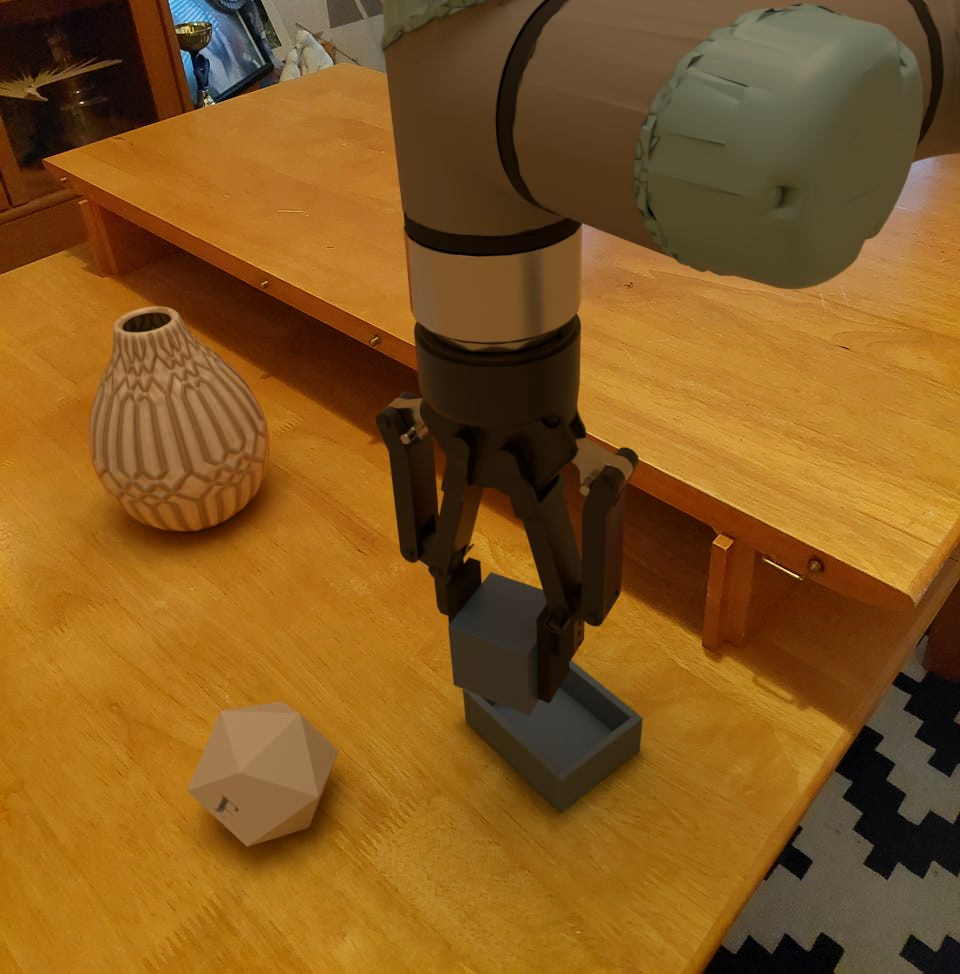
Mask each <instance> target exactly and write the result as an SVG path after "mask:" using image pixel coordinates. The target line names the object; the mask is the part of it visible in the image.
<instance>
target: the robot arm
mask: <svg viewBox="0 0 960 974" xmlns="http://www.w3.org/2000/svg"><path fill="white" fill-rule="evenodd" d="M382 12H383V13H382V14H383V15H382V17H383V33H382V35H381V40H380V41H379V42H380V48H381V52H382V53H383V54H384V61H385V71H386V78H387V87H388V99H389V105H390V115H391V123H392V131H393V141H394V142H393V143H394V148H395V157H396V166H397V167H396V168H397V175H398V185H399V193H400V203H401V210H402V211H403V224H404V225H403V236H404V238H403V239H404V250H405V261H406V270H407V281H408V282H407V283H408V294H409V304H410V312H411V313H412V316H413V319H414V320H415V324H414V327H413V336H414V346H415V357H416V367H417V378H418V386H419V391H420V394H421V398H419V396H418V395H417V394H415V393H414V392H413V391H411V390H405V391H403V392H402V393H401V394H399V396H397V397H396V398H395V399H394V400H393V401H391V403H389V404H388V405H387V406H386V407H384V408H383V409H382V410H381V411H379V413H378V414H376V416H375V424H376V426H377V429H378V431H379V433H380V436H381V438H382V440H383V442H384V445H385V448H386V450H387V452H388V458H389V466H390V476H391V483H392V493H393V501H394V509H395V518H396V525H397V526H396V527H397V536H398V543H399V553H400V555H401V556H402V558H403V559H404V560H405V561H407V562H409V563H411V564H414V563H415V564H416V563H417V562H418V561H419V562H421V563H423V564H424V565H425V566H427V569H428V573H429V575H430V576H431V577H432V579H433V580H434V591H435V600H436V607H437V609H438V611H439V613H440V614H442V615H444V616H447V619H448V625H449V624H450V623H451V622H452V620H453V619H454V618H455V617H456V615H457V614H458V613H459V612H460V610H461V609H462V608H463V607H464V605H465V604H466V603H467V601H468V600H469V599H470V598H471V596H472V595H473V594H474V593H475V591H476V590H477V589H478V588H479V586H480V585H481V584H482V582H483V580H482V579H483V578H482V564H481V562H482V561H481V560H479V559H476V558H473V557H470V556H469V557H468V558H467V559H466V560H465V559H464V558H465V557H466V556H467V555H468V554H469V552H470V551H471V550H472V548H474V546H475V544H474V543H472V544H471V541H472V539H473V538H472V537H473V533H474V530H475V526H476V521H477V518H478V514H479V509H480V505H481V501H482V497H483V494H484V489H485V488H487V489H495V490H496V491H499V492H500V493H503V494H504V495H505V496H508V498H509V502H510V505H511V508H512V513H513V514H514V517H515V519H517V520H521V522H522V525H523V527H524V531H525V535H526V537H527V541H528V544H529V547H530V551H531V554H532V558H533V561H534V565H535V569H536V571H537V573H538V574H537V575H538V578H539V582H540V585H541V589H542V590H543V592H544V595H545V599H546V602H547V604H546V606H545V607H544V609H543V610H542V611H541V613H540V614H539V616H538V617H537V656H538V699H539V700H542V701H544V702H547V703H550V702H551V700H552V699H553V697H554V695H555V694H556V692H557V691H558V689H559V687H560V686H561V684H562V682H563V681H564V679H565V678H566V676H567V674H568V673H569V661H571V660H572V659H573V658H574V657H575V655H576V653H577V652H578V650H579V649H580V647H581V645H582V644H583V642H584V641H585V627H586V626H585V625H586V624H587V625H588V626H591V627H595V628H596V627H600V626H601V625H602V624H603V623H604V621H605V620H606V619H607V617H608V615H609V613H610V612H611V610H612V608H613V606H614V605H615V604H616V602H617V601H618V599H619V597H620V595H621V594H622V593H621V592H622V577H623V576H622V575H623V573H622V572H623V555H624V553H623V552H624V551H623V550H624V532H625V531H624V530H625V529H624V528H625V508H626V488H627V486H628V484H629V483H630V480H631V479H632V477H633V475H634V473H635V472H636V469H637V467H638V466H639V464H640V463H639V462H640V460H639V459H640V458H639V455H638V454H637V452H636V451H634V450H633V449H632V448H630V447H625V446H624V447H619V448H618V449H617V450H616V451H615V452H614V453H613V452H611V451H610V450H608V449H606V448H605V447H603V446H602V445H600V444H598V443H596V442H594V441H592V440H591V439H590V438H587V437H588V435H587V434H588V433H587V428H586V425H585V423H584V421H583V420H582V417H581V415H580V412H579V408H578V404H579V403H578V402H579V394H580V386H581V384H580V383H581V349H582V347H581V346H582V345H581V343H582V342H581V341H582V333H581V332H582V322H581V319H580V317H579V314H578V312H579V311H580V308H581V303H582V272H583V270H582V267H583V265H582V264H583V263H582V262H583V225H585V226H587V227H591V228H593V229H595V230H598V231H601V232H604V233H607V234H609V235H611V236H614V237H617V238H619V239H622V240H624V241H627V242H630V243H632V244H635V245H637V246H640V247H643V248H645V249H648V250H651V251H653V252H656V253H658V254H661V255H664V256H666V257H668V258H671V259H673V260H675V261H676V262H677V263H678V264H680V265H683V266H686V267H690V268H691V269H693V270H695V271H698V272H700V273H705V272H708V271H709V272H710V273H712V274H714V275H716V276H719V277H736V278H740V279H745V280H749V281H752V282H755V283H759V284H762V285H766V286H770V287H773V288H776V289H782V290H802V289H808V288H813V287H816V286H817V287H818V286H819V285H822V284H824V283H826V282H829V281H831V280H832V279H834V278H836V277H837V276H839V275H840V274H842V273H843V272H845V271H846V270H847V269H848V268H849V267H851V266H852V265H853V264H854V263H855V262H856V260H857V259H858V257H859V255H860V254H861V251H862V249H863V246H864V244H865V243H866V240H867V241H868V240H871V239H874V238H875V237H877V236H878V235H879V234H880V232H881V230H882V229H883V227H884V226H885V224H886V223H887V221H888V219H889V218H890V216H891V214H892V212H893V211H894V209H895V206H896V205H897V202H898V201H899V199H900V196H901V194H902V192H903V189H904V187H905V185H906V182H907V180H908V177H909V174H910V171H911V168H912V165H913V163H917V162H919V161H923V160H926V159H931V158H937V157H940V156H947V155H956V154H957V155H958V154H960V0H382ZM434 440H435V442H436V443H437V444H438V446H439V447H440V448H441V450H442V452H443V453H444V454H445V458H446V460H445V461H446V462H445V465H444V471H443V475H442V480H441V485H440V490H441V492H443V495H442V500H441V504H440V508H439V498H438V486H437V473H436V472H437V471H436V462H435V461H436V460H435V449H434V448H435V447H434ZM571 463H572V464H573V465H574V466H575V467H576V468H577V469H578V471H579V484H580V486H579V488H578V489H579V490H578V491H579V492H580V494H581V495H582V496H584V497H586V498H585V501H584V503H583V507H582V514H581V554H580V550H579V546H578V542H577V538H576V535H575V534H576V533H575V530H574V527H573V522H572V519H571V515H570V511H569V508H568V503H567V499H566V496H565V490H566V487H567V479H566V475H565V471H564V469H565V468H566V467H568V466H569V464H571ZM439 509H440V510H439Z"/></svg>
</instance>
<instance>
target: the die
mask: <svg viewBox="0 0 960 974" xmlns="http://www.w3.org/2000/svg"><path fill="white" fill-rule="evenodd" d="M339 751H340V750H339V749H338V748H337V747H336V746H335V745H334V744H333V743H331V742H330V741H329V740H328V739H327V738H326V737H325V735H324V734H322V733H321V731H319V730H318V729H317V728H316V727H315V725H313V724H312V723H311V722H309V721H308V720H307V718H306V717H304V715H302V714H301V713H300V712H298V711H297V710H295V709H294V708H292V707H291V706H289V705H288V704H286V703H285V702H283V701H277V702H269V703H263V704H256V705H250V706H244V707H237V708H230V709H229V708H228V709H223V710H220V711H219V714H218V716H217V718H216V721H215V723H214V725H213V728H212V730H211V733H210V735H209V737H208V739H207V742H206V744H205V747H204V749H203V752H202V754H201V757H200V759H199V761H198V763H197V766H196V769H195V770H194V773H193V775H192V778H191V780H190V783H189V785H188V787H187V788H186V789H187V790H186V792H187V793H188V794H189V795H191V796H192V798H194V799H195V800H196V801H197V802H198V803H199V804H200V805H201V806H202V807H203V808H204V809H205V810H206V811H208V812H209V813H210V814H211V815H212V816H213V817H214V818H215V819H216V820H218V821H219V822H220V824H222V826H224V827H225V828H226V829H227V830H228V831H229V832H230V833H231V834H233V835H234V836H235V837H236V838H237V839H238V840H239V841H240V842H241V843H242V844H243V845H244V846H246V847H250V846H255V845H257V844H261V843H264V842H266V841H271V840H273V839H277V838H280V837H284V836H287V835H290V834H293V833H296V832H300V831H303V830H306V829H309V828H310V826H311V824H312V821H313V818H314V816H315V814H316V811H317V809H318V806H319V803H320V800H321V798H322V797H323V792H324V790H325V788H326V785H327V783H328V781H329V778H330V775H331V772H332V769H333V767H334V764H335V763H336V760H337V757H338V754H339V753H340V752H339Z"/></svg>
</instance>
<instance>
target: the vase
mask: <svg viewBox="0 0 960 974" xmlns="http://www.w3.org/2000/svg"><path fill="white" fill-rule="evenodd" d="M111 347H112V348H111V355H110V358H109V361H108V363H107V364H106V367H105V369H104V371H103V373H102V375H101V377H100V380H99V382H98V384H97V387H96V390H95V393H94V396H93V400H92V403H91V407H90V412H89V419H88V420H89V423H88V446H89V455H90V459H91V464H92V467H93V470H94V472H95V475H96V477H97V479H98V480H99V482H100V484H101V486H102V488H103V489H104V491H105V492H106V494H107V496H108V497H110V499H111V500H112V501H113V502H114V503H115V504H116V505H117V506H118V507H119V508H120V509H121V510H122V511H124V512H125V513H126V514H128V515H129V516H130V517H131V518H133V519H135V520H137V522H140V523H141V524H144V525H147V526H149V527H153V528H156V529H159V530H163V531H169V532H170V531H171V532H187V533H188V532H197V531H202V530H207V529H210V528H213V527H216V526H219V525H220V524H223V523H224V522H227V520H229V519H231V518H233V517H234V516H236V515H237V514H238V513H239V512H240V511H241V510H243V509H244V508H245V507H246V506H247V505H248V504H249V502H251V500H252V499H253V498H254V497H255V495H256V494H257V492H258V491H259V489H260V487H261V485H262V483H263V481H264V478H265V476H266V472H267V468H268V464H269V459H270V431H269V426H268V422H267V418H266V416H265V413H264V411H263V409H262V406H261V404H260V403H259V400H258V398H257V397H256V394H255V393H254V392H253V390H252V389H251V387H250V385H249V384H248V382H246V380H245V378H243V376H242V375H241V374H240V373H239V372H238V370H236V369H235V368H234V366H232V365H231V364H230V363H229V362H228V361H227V360H226V359H224V357H222V356H221V355H220V354H218V353H217V352H216V351H215V350H213V349H212V348H210V347H209V346H208V345H206V344H205V343H204V342H202V341H200V340H199V339H198V338H197V337H196V336H195V335H194V333H193V332H192V331H191V330H190V329H189V327H188V325H187V324H186V323H185V321H184V319H183V318H182V316H181V315H180V314H179V312H177V310H175V309H173V308H171V307H168V306H161V305H159V306H158V305H155V306H146V307H145V306H144V307H140V308H136V309H134V310H131V311H128V312H126V313H124V314H123V315H121V316H119V318H117V319H116V321H115V322H114V324H113V327H112V346H111Z"/></svg>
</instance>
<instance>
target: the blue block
mask: <svg viewBox="0 0 960 974" xmlns="http://www.w3.org/2000/svg"><path fill="white" fill-rule="evenodd" d="M546 604H547V602H546V599H545V595H544V592H543V589H542V588H539V587H536V586H533V585H530V584H527V583H524V582H522V581H518V580H515V579H512V578H509V577H508V576H507V577H506V576H504V575H502V574H498V573H496V572H492V571H490V572H489V573H488V575H487V576H486V577H485V578H484V580H482V584H481V585H480V586H479V588H478V589H477V590H476V591H475V593H474V594H473V595H472V596H471V598H470V599H469V600H468V601H467V603H466V604H465V605H464V607H463V608H462V609H461V610H460V612H459V613H458V614H457V615H456V617H455V618H454V619H453V620H452V622H451V623H450V624H449V623H448V626H447V628H448V640H449V650H450V660H451V661H450V662H451V670H452V682H453V683H452V684H453V686H455V687H458V688H459V689H462V690H463V689H464V690H467V691H469V692H472V693H474V694H477V695H479V696H481V697H484V698H486V699H489V700H491V701H494V702H496V703H499V704H501V705H504V706H506V707H509V708H511V709H513V710H516V711H518V712H521V713H523V714H526V715H528V716H529V715H530V713H531V712H532V710H533V708H534V707H535V705H536V704H537V702H538V701H539V699H538V656H537V617H538V616H539V614H540V613H541V611H542V610H543V609H544V607H545V606H546Z"/></svg>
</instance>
